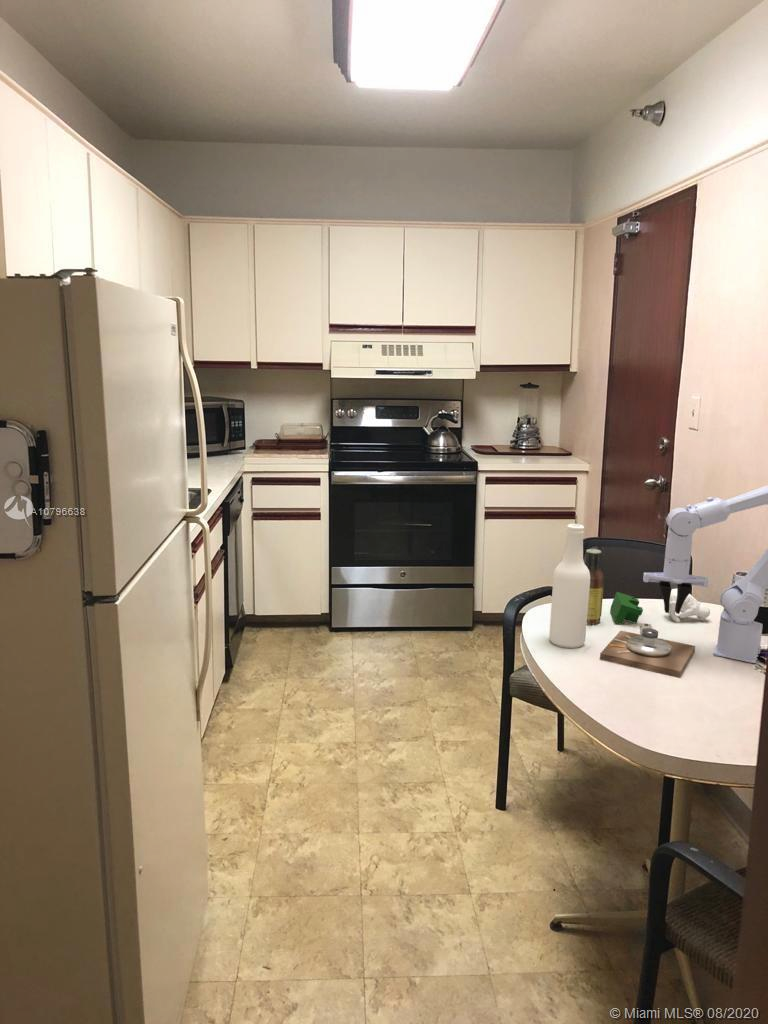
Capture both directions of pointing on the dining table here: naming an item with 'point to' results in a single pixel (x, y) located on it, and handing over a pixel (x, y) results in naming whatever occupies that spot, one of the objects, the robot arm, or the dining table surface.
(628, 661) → the dial plate
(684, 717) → the dining table surface
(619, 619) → the clamp
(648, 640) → the dial
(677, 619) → the white lumpy piece
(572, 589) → the white bottle
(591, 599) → the sauce bottle
